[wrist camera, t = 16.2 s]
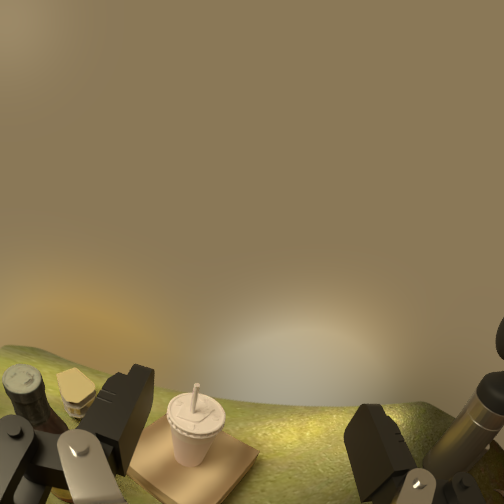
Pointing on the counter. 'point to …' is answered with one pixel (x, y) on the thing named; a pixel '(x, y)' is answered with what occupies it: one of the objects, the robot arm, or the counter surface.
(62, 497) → the sauce bottle
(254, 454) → the riser
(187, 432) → the smoothie
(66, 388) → the stacked layers on plate
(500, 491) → the knife
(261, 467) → the counter surface
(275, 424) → the counter surface
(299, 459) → the counter surface
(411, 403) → the counter surface
